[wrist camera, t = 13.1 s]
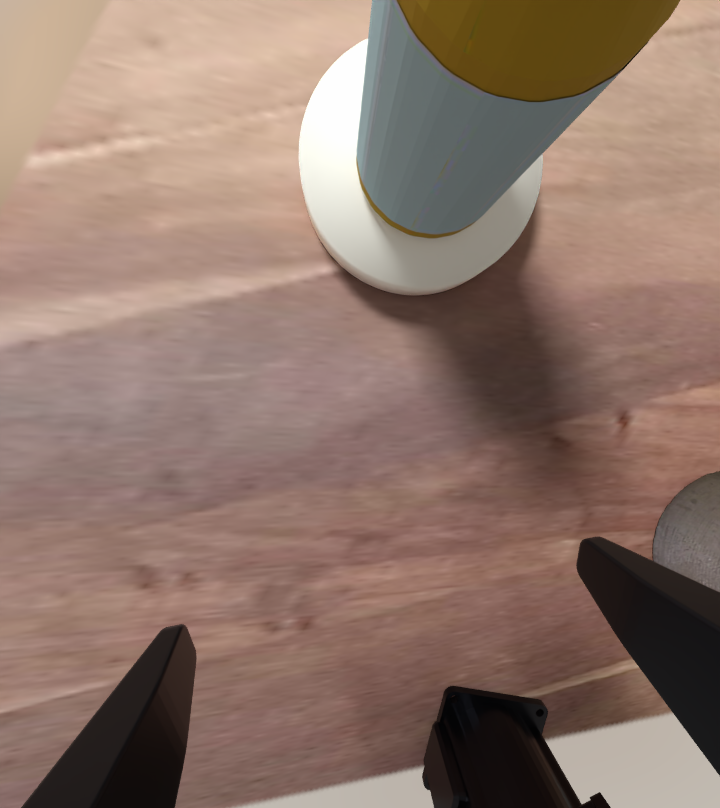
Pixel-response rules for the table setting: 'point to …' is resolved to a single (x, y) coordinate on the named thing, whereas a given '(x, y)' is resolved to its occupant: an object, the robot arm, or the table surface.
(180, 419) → the table surface
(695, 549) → the pillar candle
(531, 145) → the bottle
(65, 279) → the table surface
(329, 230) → the round base
